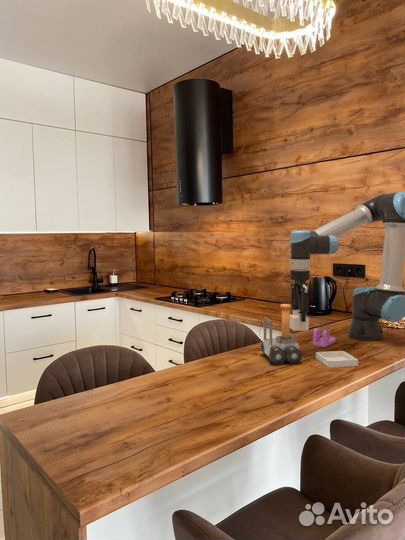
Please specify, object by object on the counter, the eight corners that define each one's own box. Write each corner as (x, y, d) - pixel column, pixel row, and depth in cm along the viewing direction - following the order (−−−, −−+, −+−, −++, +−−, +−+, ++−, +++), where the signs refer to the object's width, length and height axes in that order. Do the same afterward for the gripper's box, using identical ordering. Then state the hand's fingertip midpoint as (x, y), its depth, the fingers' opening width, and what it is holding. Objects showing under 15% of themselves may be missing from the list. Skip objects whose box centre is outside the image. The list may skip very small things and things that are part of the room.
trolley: (289, 352, 167) (289, 314, 165) (302, 363, 153) (302, 321, 151) (260, 354, 165) (260, 315, 164) (270, 365, 151) (270, 323, 150)
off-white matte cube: (302, 327, 168) (303, 314, 168) (308, 330, 162) (308, 317, 162) (288, 327, 167) (289, 315, 167) (293, 330, 162) (294, 318, 161)
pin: (288, 339, 161) (289, 303, 160) (292, 342, 157) (292, 305, 156) (278, 339, 160) (279, 304, 159) (282, 342, 156) (282, 305, 155)
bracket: (325, 347, 175) (325, 331, 174) (313, 344, 179) (313, 329, 178) (337, 340, 185) (338, 325, 184) (325, 338, 188) (326, 323, 188)
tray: (343, 357, 160) (343, 350, 160) (357, 366, 149) (358, 359, 149) (315, 358, 159) (315, 352, 159) (328, 368, 148) (328, 361, 148)
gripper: (283, 267, 172) (282, 322, 174) (299, 272, 153) (298, 333, 155) (300, 267, 173) (299, 322, 175) (319, 271, 154) (317, 333, 156)
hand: (299, 327), depth 165 cm, fingers closed on off-white matte cube, 6 cm apart
